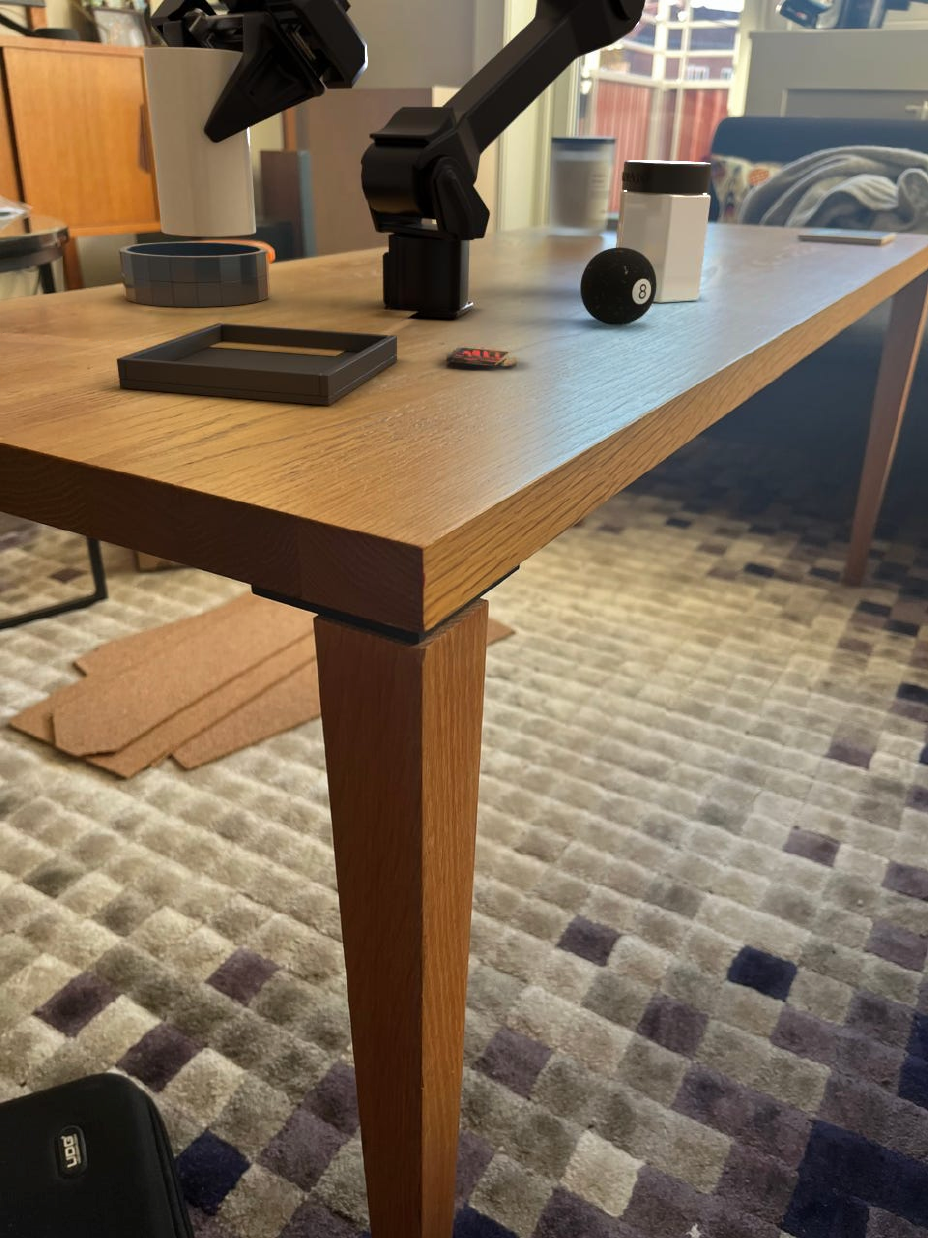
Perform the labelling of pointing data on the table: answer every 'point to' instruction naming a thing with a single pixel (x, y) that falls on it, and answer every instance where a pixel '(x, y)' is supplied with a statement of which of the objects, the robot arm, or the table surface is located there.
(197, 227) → the cup
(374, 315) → the table surface
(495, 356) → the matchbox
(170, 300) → the bowl
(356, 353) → the tray
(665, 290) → the jar
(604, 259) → the billiard ball
